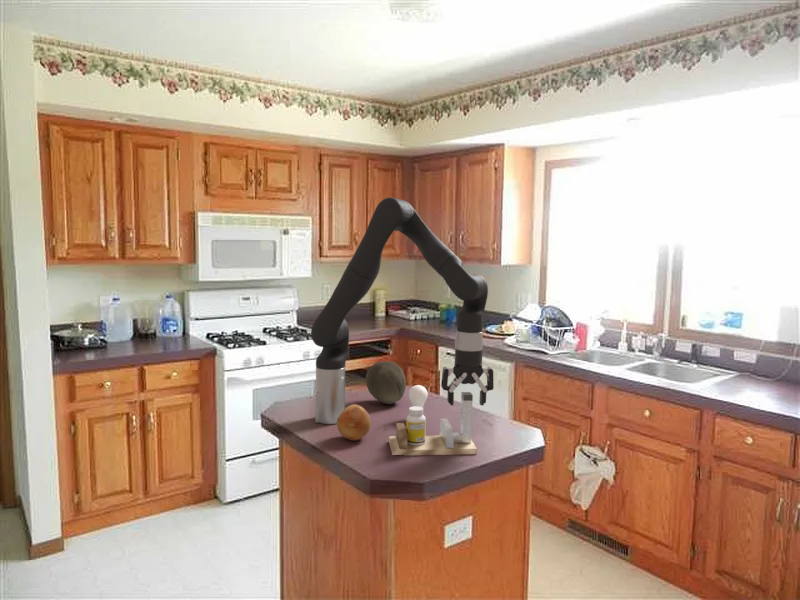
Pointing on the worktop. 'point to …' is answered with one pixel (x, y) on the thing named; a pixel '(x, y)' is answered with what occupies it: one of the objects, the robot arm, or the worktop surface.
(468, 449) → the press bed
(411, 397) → the lightbulb
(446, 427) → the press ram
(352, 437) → the onion
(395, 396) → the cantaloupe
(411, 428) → the supplement bottle
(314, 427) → the worktop surface
